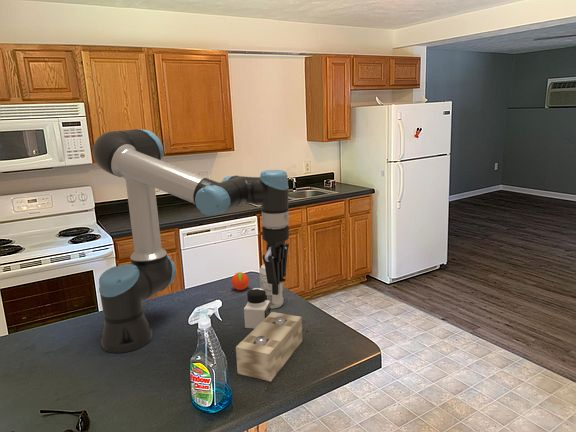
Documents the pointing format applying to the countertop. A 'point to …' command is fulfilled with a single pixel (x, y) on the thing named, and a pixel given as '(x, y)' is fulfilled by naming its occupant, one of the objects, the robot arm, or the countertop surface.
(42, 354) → the countertop surface
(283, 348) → the pin block
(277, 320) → the pin
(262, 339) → the pin
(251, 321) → the medicine bottle
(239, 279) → the tomato
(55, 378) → the countertop surface
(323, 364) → the countertop surface
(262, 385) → the countertop surface
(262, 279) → the supplement can
